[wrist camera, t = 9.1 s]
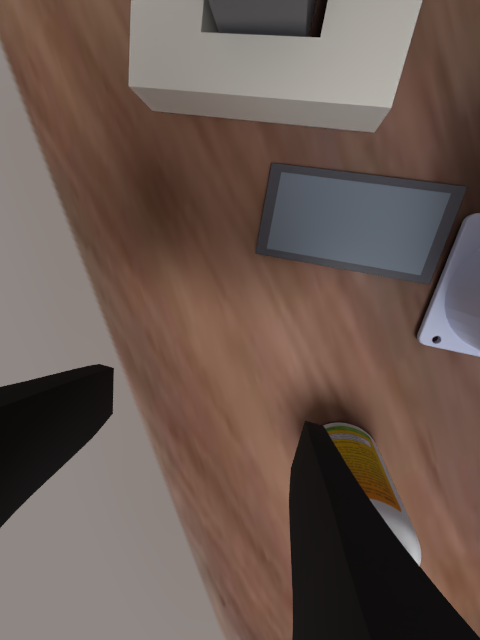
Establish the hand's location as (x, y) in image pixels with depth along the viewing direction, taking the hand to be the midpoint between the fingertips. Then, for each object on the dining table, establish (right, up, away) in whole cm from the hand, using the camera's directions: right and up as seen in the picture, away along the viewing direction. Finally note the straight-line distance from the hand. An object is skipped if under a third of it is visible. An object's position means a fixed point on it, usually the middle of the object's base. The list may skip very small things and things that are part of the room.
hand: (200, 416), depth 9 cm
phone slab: (+8, +10, +7) cm, 15 cm away
